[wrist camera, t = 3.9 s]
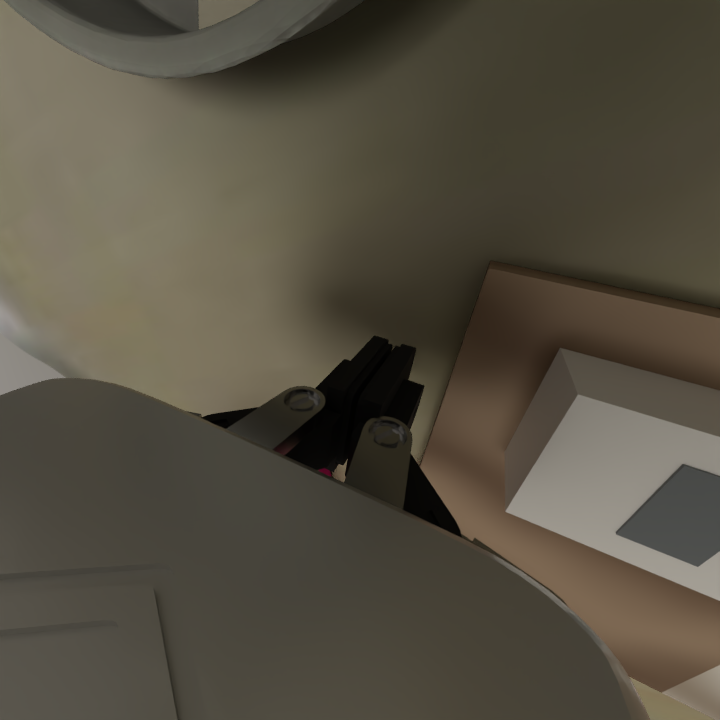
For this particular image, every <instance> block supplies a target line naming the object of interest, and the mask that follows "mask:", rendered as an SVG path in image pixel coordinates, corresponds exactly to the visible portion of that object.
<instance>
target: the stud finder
mask: <svg viewBox="0 0 720 720" xmlns="http://www.w3.org/2000/svg"><path fill="white" fill-rule="evenodd" d="M505 512H507V513H510V514H512V515H515V516H517V517H519V518H522V519H524V520H527V521H529V522H531V523H534V524H536V525H539V526H541V527H543V528H546V529H548V530H551V531H553V532H555V533H558V534H560V535H563V536H565V537H567V538H570V539H572V540H575V541H577V542H579V543H582V544H584V545H587V546H589V547H591V548H594V549H596V550H599V551H601V552H603V553H606V554H608V555H611V556H613V557H615V558H618V559H620V560H623V561H625V562H627V563H630V564H632V565H635V566H637V567H639V568H642V569H644V570H647V571H649V572H651V573H654V574H656V575H659V576H661V577H664V578H666V579H668V580H671V581H673V582H676V583H678V584H680V585H683V586H685V587H688V588H690V589H692V590H695V591H697V592H700V593H702V594H704V595H707V596H709V597H712V598H714V599H716V600H719V601H720V390H716V389H712V388H708V387H705V386H701V385H697V384H693V383H690V382H686V381H682V380H679V379H675V378H671V377H667V376H664V375H660V374H656V373H652V372H649V371H645V370H641V369H638V368H634V367H630V366H626V365H623V364H619V363H615V362H611V361H608V360H604V359H600V358H596V357H593V356H589V355H585V354H582V353H578V352H574V351H570V350H567V349H563V348H560V349H559V351H558V353H557V355H556V356H555V358H554V360H553V362H552V364H551V366H550V368H549V370H548V371H547V373H546V375H545V377H544V379H543V381H542V383H541V385H540V386H539V388H538V390H537V392H536V394H535V396H534V398H533V400H532V401H531V403H530V405H529V407H528V409H527V411H526V413H525V415H524V416H523V418H522V420H521V422H520V424H519V426H518V428H517V430H516V431H515V433H514V435H513V437H512V439H511V441H510V443H509V445H508V446H507V448H506V450H505Z"/></svg>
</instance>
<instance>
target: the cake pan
mask: <svg viewBox="0 0 720 720" xmlns="http://www.w3.org/2000/svg"><path fill="white" fill-rule="evenodd" d="M4 1H5V2H6V3H7V4H8V5H9V6H10V7H12V8H13V9H14V10H15V11H16V12H17V13H18V14H20V15H21V16H22V17H23V18H25V19H26V20H27V21H28V22H30V23H31V24H32V25H34V26H35V27H36V28H37V29H39V30H40V31H42V32H43V33H45V34H46V35H48V36H49V37H50V38H52V39H53V40H55V41H57V42H58V43H60V44H61V45H63V46H65V47H66V48H68V49H70V50H71V51H73V52H75V53H77V54H79V55H82V56H84V57H86V58H88V59H90V60H91V61H93V62H96V63H98V64H100V65H103V66H105V67H107V68H110V69H113V70H117V71H121V72H125V73H130V74H134V75H139V76H144V77H149V78H164V79H168V78H185V77H193V76H197V75H202V74H206V73H214V72H217V71H220V70H223V69H226V68H228V67H232V66H236V65H238V64H240V63H242V62H244V61H246V60H249V59H251V58H253V57H256V56H258V55H260V54H262V53H264V52H266V51H268V50H270V49H272V48H274V47H276V46H277V45H279V44H281V43H284V42H289V41H292V40H294V39H297V38H300V37H303V36H305V35H307V34H310V33H312V32H314V31H316V30H318V29H320V28H322V27H324V26H326V25H328V24H330V23H331V22H333V21H335V20H336V19H338V18H340V17H341V16H343V15H344V14H346V13H347V12H349V11H350V10H352V9H353V8H354V7H356V6H357V5H359V4H360V3H361V2H363V1H364V0H260V1H258V2H257V3H255V4H253V5H252V6H250V7H248V8H247V9H245V10H243V11H242V12H240V13H239V14H237V15H235V16H233V17H230V18H228V19H226V20H224V21H221V22H219V23H217V24H215V25H212V26H209V27H206V28H204V29H201V30H199V29H198V0H4Z"/></svg>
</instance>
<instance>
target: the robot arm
mask: <svg viewBox="0 0 720 720" xmlns="http://www.w3.org/2000/svg"><path fill="white" fill-rule="evenodd" d="M391 351H392V352H391ZM415 352H416V348H414V347H411V346H408V345H404V344H402V345H401V346H400V347H398V346H395V347H394V349H393V350H392V344H388V339H385V338H381V337H378V336H373V338H372V339H371V340H370V341H369V342H368V343H367V344H366V345H365V346H364V347H363V348H362V349H361V350H360V351H359V352H358V354H357V355H356V356H355V357H354V358H353V359H352V360H351V361H349V360H346V359H344V360H343V361H342V362H341V363H340V364H339V365H338V366H337V367H336V368H335V369H334V370H333V371H332V372H331V373H330V374H329V375H328V376H327V377H326V378H325V379H324V380H323V381H322V382H321V383H320V384H319V385H318V386H317V387H316V388H312V387H307V386H296V387H292V388H289V389H287V390H285V391H283V392H282V393H280V394H279V395H277V396H276V397H274V398H273V399H271V400H270V401H268V402H267V403H265V404H264V405H262V406H260V407H258V408H251V409H244V410H237V411H230V412H223V413H216V414H211V415H207V416H204V417H202V416H201V414H198V413H193V412H188V411H184V410H182V409H179V408H177V407H175V406H172V405H170V404H168V403H166V402H163V401H161V400H158V399H156V398H153V397H151V396H148V395H146V394H143V393H141V392H138V391H136V390H133V389H130V388H127V387H124V386H121V385H117V384H114V383H109V382H104V381H99V380H93V379H81V378H59V379H50V380H45V381H41V382H38V383H35V384H32V385H29V386H26V387H23V388H20V389H17V390H14V391H11V392H8V393H5V394H3V395H0V720H650V718H649V716H648V714H647V711H646V709H645V707H644V705H643V702H642V700H641V698H640V696H639V694H638V692H637V690H636V688H635V686H634V684H633V683H632V681H631V679H630V678H629V676H628V674H627V673H626V671H625V669H624V668H623V666H622V665H621V663H620V662H619V660H618V659H617V658H616V656H615V655H614V654H613V653H612V651H611V650H610V649H609V647H608V646H607V645H606V644H605V643H604V642H603V640H602V639H601V638H600V637H599V636H598V635H597V634H596V633H595V632H594V631H593V630H592V629H591V628H590V627H589V626H588V625H587V624H586V623H585V622H584V621H583V620H582V619H581V618H580V617H579V616H578V615H577V614H576V613H575V612H574V611H572V610H571V609H570V608H569V607H568V606H567V604H566V603H565V602H564V600H562V599H561V598H560V597H559V596H558V595H557V594H556V593H554V592H553V591H552V590H551V589H549V588H548V587H546V586H545V585H543V584H542V583H540V582H539V581H538V580H536V579H535V578H533V577H532V576H530V575H529V574H527V573H526V572H524V571H523V570H521V569H520V568H519V567H517V566H516V565H514V564H513V563H511V562H510V561H508V560H507V559H505V558H504V557H502V556H501V555H500V554H498V553H497V552H495V551H494V550H492V549H491V548H489V547H488V546H486V545H485V544H483V543H482V542H481V541H479V540H478V539H476V538H475V537H474V539H473V541H471V540H470V539H468V538H467V537H466V536H464V535H463V534H461V531H460V528H459V526H458V524H457V522H456V520H455V519H454V517H453V516H452V514H451V513H450V511H449V510H448V509H447V507H446V506H445V504H444V503H443V501H442V500H441V498H440V497H439V495H438V494H437V492H436V491H435V489H434V488H433V486H432V485H431V483H430V482H429V480H428V479H427V477H426V476H425V474H424V473H423V471H422V470H421V468H420V467H419V465H418V464H417V462H416V461H415V459H414V458H413V456H412V455H411V447H412V433H411V431H410V428H411V426H412V423H413V421H414V418H415V415H416V412H417V409H418V406H419V403H420V399H421V396H422V393H423V389H424V385H421V384H418V383H415V382H412V381H409V380H408V379H409V375H410V371H411V368H412V364H413V360H414V356H415ZM347 459H348V460H347ZM346 460H347V466H346V472H345V477H346V478H345V481H344V483H343V482H341V481H339V480H337V479H335V478H333V477H330V476H328V475H326V474H324V473H322V472H319V469H324V468H325V469H328V470H330V471H332V472H334V470H335V469H336V467H337V466H338V464H341V465H344V463H345V462H346Z"/></svg>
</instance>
